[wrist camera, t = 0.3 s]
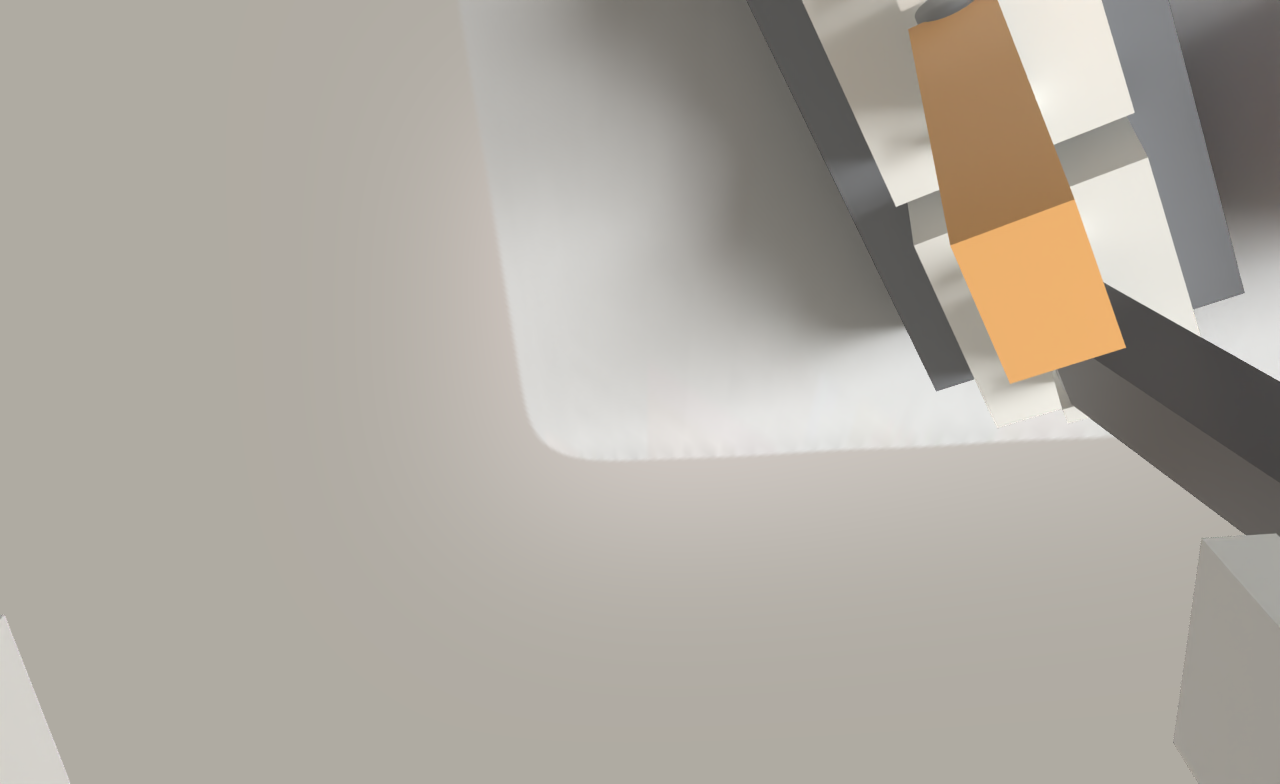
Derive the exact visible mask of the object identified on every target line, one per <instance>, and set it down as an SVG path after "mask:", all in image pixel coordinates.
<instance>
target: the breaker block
mask: <svg viewBox="0 0 1280 784" xmlns="http://www.w3.org/2000/svg"><path fill="white" fill-rule="evenodd" d="M926 1H927V0H747V2H748V4H749V6H750V8H751V11H752V13H753V15H754V17H755V19H756V21H757V23H758V25H759V27H760V29H761V31H762V33H763V35H764V37H765V39H766V41H767V44H768V46H769V48H770V50H771V52H772V54H773V56H774V58H775V60H776V62H777V64H778V66H779V68H780V70H781V72H782V74H783V76H784V79H785V81H786V83H787V85H788V87H789V89H790V91H791V93H792V95H793V97H794V99H795V101H796V103H797V105H798V107H799V109H800V111H801V114H802V116H803V118H804V120H805V122H806V124H807V126H808V128H809V130H810V132H811V134H812V136H813V138H814V140H815V142H816V144H817V146H818V149H819V151H820V153H821V155H822V157H823V159H824V161H825V163H826V165H827V167H828V169H829V171H830V173H831V175H832V177H833V179H834V182H835V184H836V186H837V188H838V190H839V192H840V194H841V196H842V198H843V200H844V202H845V204H846V206H847V208H848V210H849V212H850V214H851V217H852V219H853V221H854V223H855V225H856V227H857V229H858V231H859V233H860V235H861V237H862V239H863V241H864V243H865V245H866V247H867V249H868V252H869V254H870V256H871V258H872V260H873V262H874V264H875V266H876V268H877V270H878V272H879V274H880V276H881V278H882V280H883V282H884V285H885V287H886V289H887V291H888V293H889V295H890V297H891V299H892V301H893V303H894V305H895V307H896V309H897V311H898V313H899V315H900V317H901V320H902V322H903V324H904V326H905V328H906V330H907V332H908V334H909V336H910V338H911V340H912V342H913V344H914V346H915V348H916V350H917V352H918V355H919V357H920V359H921V361H922V363H923V365H924V367H925V369H926V371H927V373H928V375H929V377H930V379H931V381H932V383H933V385H934V387H935V390H936V391H939V390H942V389H945V388H948V387H951V386H955V385H958V384H961V383H964V382H967V381H970V380H973V379H975V381H976V383H977V385H978V388H979V390H980V392H981V394H982V396H983V399H984V401H985V403H986V405H987V407H988V410H989V412H990V414H991V416H992V418H993V421H994V423H995V425H996V427H997V428H1000V427H1003V426H1007V425H1010V424H1013V423H1017V422H1020V421H1023V420H1027V419H1030V418H1033V417H1037V416H1040V415H1044V414H1047V413H1050V412H1054V411H1057V410H1060V409H1062V410H1063V413H1064V415H1065V418H1066V420H1067V422H1068V424H1070V423H1073V422H1077V421H1080V420H1084V419H1087V418H1090V419H1092V420H1093V421H1094V422H1096V423H1097V424H1098V425H1100V426H1101V427H1102V428H1104V429H1105V430H1106V431H1108V432H1109V433H1110V434H1112V435H1113V436H1114V437H1116V438H1117V439H1118V440H1120V441H1121V442H1122V443H1124V444H1125V445H1126V446H1128V447H1129V448H1130V449H1132V450H1133V451H1135V452H1136V453H1138V455H1140V456H1141V457H1142V458H1144V459H1145V460H1146V461H1148V462H1149V463H1150V464H1152V465H1153V466H1154V467H1156V468H1157V469H1159V470H1160V471H1161V472H1162V473H1164V474H1165V475H1166V476H1168V477H1169V478H1170V479H1172V480H1173V481H1174V482H1176V483H1177V484H1179V485H1180V486H1181V487H1182V488H1184V489H1185V490H1186V491H1188V492H1189V493H1190V494H1192V495H1193V496H1194V497H1196V498H1197V499H1198V500H1200V501H1201V502H1202V503H1204V504H1205V505H1206V506H1208V507H1209V508H1210V509H1212V510H1213V511H1215V512H1216V513H1217V514H1218V515H1220V516H1221V517H1222V518H1224V519H1225V520H1227V521H1228V522H1229V523H1230V524H1232V525H1233V526H1235V527H1236V528H1237V529H1238V530H1240V531H1241V532H1243V533H1244V534H1245V535H1258V534H1274V533H1276V534H1277V535H1278V536H1279V537H1280V382H1279V381H1278V380H1276V379H1274V378H1272V377H1271V376H1269V375H1267V374H1265V373H1263V372H1262V371H1260V370H1258V369H1256V368H1255V367H1253V366H1251V365H1249V364H1247V363H1246V362H1244V361H1242V360H1240V359H1239V358H1237V357H1235V356H1233V355H1232V354H1230V353H1228V352H1226V351H1224V350H1223V349H1221V348H1219V347H1217V346H1216V345H1214V344H1212V343H1210V342H1208V341H1207V340H1205V339H1203V338H1201V335H1200V331H1199V328H1198V325H1197V321H1196V318H1195V315H1194V311H1193V309H1196V308H1199V307H1202V306H1205V305H1209V304H1212V303H1215V302H1218V301H1221V300H1224V299H1227V298H1230V297H1234V296H1237V295H1240V294H1243V293H1244V289H1243V285H1242V281H1241V277H1240V273H1239V269H1238V266H1237V262H1236V258H1235V254H1234V250H1233V246H1232V243H1231V239H1230V235H1229V231H1228V227H1227V223H1226V219H1225V216H1224V212H1223V208H1222V204H1221V200H1220V196H1219V193H1218V189H1217V185H1216V181H1215V177H1214V173H1213V169H1212V166H1211V162H1210V158H1209V154H1208V150H1207V146H1206V143H1205V139H1204V135H1203V131H1202V127H1201V123H1200V119H1199V116H1198V112H1197V108H1196V104H1195V100H1194V96H1193V93H1192V89H1191V85H1190V81H1189V77H1188V73H1187V69H1186V66H1185V62H1184V58H1183V54H1182V50H1181V46H1180V43H1179V39H1178V35H1177V31H1176V27H1175V23H1174V19H1173V16H1172V12H1171V8H1170V4H1169V0H998V2H999V5H1000V7H1001V10H1002V13H1003V15H1004V18H1005V20H1006V23H1007V26H1008V28H1009V31H1010V33H1011V36H1012V39H1013V41H1014V44H1015V46H1016V49H1017V51H1018V54H1019V57H1020V59H1021V62H1022V64H1023V67H1024V70H1025V72H1026V75H1027V77H1028V80H1029V83H1030V85H1031V88H1032V90H1033V93H1034V95H1035V98H1036V101H1037V103H1038V106H1039V108H1040V111H1041V114H1042V116H1043V119H1044V121H1045V124H1046V127H1047V129H1048V132H1049V134H1050V137H1051V139H1052V142H1053V145H1054V147H1055V150H1056V152H1057V155H1058V158H1059V160H1060V163H1061V165H1062V168H1063V171H1064V173H1065V176H1066V178H1067V181H1068V183H1069V186H1070V189H1071V191H1072V194H1073V196H1074V199H1075V202H1076V205H1077V208H1078V210H1079V213H1080V216H1081V219H1082V222H1083V225H1084V228H1085V231H1086V234H1087V236H1088V239H1089V242H1090V245H1091V248H1092V251H1093V254H1094V257H1095V259H1096V262H1097V265H1098V268H1099V271H1100V274H1101V277H1102V280H1103V283H1104V285H1105V288H1106V291H1107V294H1108V297H1109V300H1110V303H1111V306H1112V308H1113V311H1114V314H1115V317H1116V320H1117V323H1118V326H1119V329H1120V331H1121V334H1122V337H1123V340H1124V343H1125V346H1126V348H1123V349H1120V350H1117V351H1114V352H1110V353H1107V354H1104V355H1101V356H1098V357H1095V358H1091V359H1088V360H1085V361H1082V362H1079V363H1075V364H1072V365H1069V366H1066V367H1063V368H1059V369H1056V370H1053V371H1050V372H1047V373H1043V374H1040V375H1037V376H1034V377H1031V378H1027V379H1024V380H1021V381H1018V382H1015V383H1011V384H1010V382H1009V380H1008V378H1007V376H1006V373H1005V371H1004V369H1003V366H1002V364H1001V362H1000V359H999V357H998V355H997V352H996V350H995V348H994V346H993V343H992V341H991V339H990V336H989V334H988V332H987V329H986V327H985V325H984V322H983V320H982V318H981V316H980V313H979V311H978V309H977V306H976V304H975V302H974V299H973V297H972V295H971V292H970V290H969V288H968V286H967V283H966V281H965V279H964V276H963V274H962V272H961V269H960V267H959V265H958V262H957V260H956V258H955V256H954V253H953V251H952V249H951V246H950V242H949V237H948V232H947V227H946V222H945V216H944V211H943V206H942V201H941V196H940V191H939V186H938V180H937V175H936V170H935V165H934V160H933V155H932V150H931V145H930V139H929V134H928V129H927V124H926V119H925V114H924V109H923V103H922V98H921V93H920V88H919V83H918V78H917V73H916V67H915V62H914V57H913V52H912V47H911V42H910V37H909V31H908V29H910V28H912V27H914V26H916V25H918V24H917V22H916V19H915V13H916V11H917V10H918V8H919V7H920V6H921V5H922V4H923V3H925V2H926Z"/></svg>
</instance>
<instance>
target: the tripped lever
mask: <svg viewBox="0 0 1280 784" xmlns="http://www.w3.org/2000/svg"><path fill="white" fill-rule="evenodd" d="M915 19H916V22H917V24H918V25H916V26H914V27H912V28H910V29H908V31H909V37H910V42H911V47H912V52H913V57H914V62H915V67H916V73H917V78H918V83H919V88H920V93H921V98H922V103H923V109H924V114H925V119H926V124H927V129H928V134H929V139H930V145H931V150H932V155H933V160H934V165H935V170H936V175H937V180H938V186H939V191H940V196H941V201H942V206H943V211H944V216H945V222H946V227H947V232H948V237H949V242H950V246H951V249H952V251H953V253H954V256H955V258H956V260H957V262H958V265H959V267H960V269H961V272H962V274H963V276H964V279H965V281H966V283H967V286H968V288H969V290H970V292H971V295H972V297H973V299H974V302H975V304H976V306H977V309H978V311H979V313H980V316H981V318H982V320H983V322H984V325H985V327H986V329H987V332H988V334H989V336H990V339H991V341H992V343H993V346H994V348H995V350H996V352H997V355H998V357H999V359H1000V362H1001V364H1002V366H1003V369H1004V371H1005V373H1006V376H1007V378H1008V380H1009V382H1010V384H1011V383H1015V382H1018V381H1021V380H1024V379H1027V378H1031V377H1034V376H1037V375H1040V374H1043V373H1047V372H1050V371H1053V370H1056V369H1059V368H1063V367H1066V366H1069V365H1072V364H1075V363H1079V362H1082V361H1085V360H1088V359H1091V358H1095V357H1098V356H1101V355H1104V354H1107V353H1110V352H1114V351H1117V350H1120V349H1123V348H1126V346H1125V343H1124V340H1123V337H1122V334H1121V331H1120V329H1119V326H1118V323H1117V320H1116V317H1115V314H1114V311H1113V308H1112V306H1111V303H1110V300H1109V297H1108V294H1107V291H1106V288H1105V285H1104V283H1103V280H1102V277H1101V274H1100V271H1099V268H1098V265H1097V262H1096V259H1095V257H1094V254H1093V251H1092V248H1091V245H1090V242H1089V239H1088V236H1087V234H1086V231H1085V228H1084V225H1083V222H1082V219H1081V216H1080V213H1079V210H1078V208H1077V205H1076V202H1075V199H1074V196H1073V194H1072V191H1071V189H1070V186H1069V183H1068V181H1067V178H1066V176H1065V173H1064V171H1063V168H1062V165H1061V163H1060V160H1059V158H1058V155H1057V152H1056V150H1055V147H1054V145H1053V142H1052V139H1051V137H1050V134H1049V132H1048V129H1047V127H1046V124H1045V121H1044V119H1043V116H1042V114H1041V111H1040V108H1039V106H1038V103H1037V101H1036V98H1035V95H1034V93H1033V90H1032V88H1031V85H1030V83H1029V80H1028V77H1027V75H1026V72H1025V70H1024V67H1023V64H1022V62H1021V59H1020V57H1019V54H1018V51H1017V49H1016V46H1015V44H1014V41H1013V39H1012V36H1011V33H1010V31H1009V28H1008V26H1007V23H1006V20H1005V18H1004V15H1003V13H1002V10H1001V7H1000V5H999V2H998V0H927V1H926V2H925V3H923V4H922V5H921V6H920V7H919V8H918V10H917V11H916V13H915Z"/></svg>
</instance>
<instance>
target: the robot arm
mask: <svg viewBox="0 0 1280 784" xmlns="http://www.w3.org/2000/svg"><path fill="white" fill-rule="evenodd" d="M1173 743H1174V745H1175V747H1176V748H1177V750H1178V751H1179V753H1180V754H1181V756H1182V758H1183V759H1184V761H1185V763H1186V764H1187V766H1188V767H1189V769H1190V771H1191V772H1192V774H1193V776H1194V777H1195V779H1196V780H1197V782H1198V784H1280V537H1279V536H1278V535H1277V534H1276V533H1274V534H1258V535H1244V536H1227V537H1213V538H1201V545H1200V552H1199V560H1198V566H1197V574H1196V581H1195V589H1194V596H1193V603H1192V610H1191V617H1190V625H1189V633H1188V640H1187V646H1186V654H1185V661H1184V668H1183V675H1182V683H1181V690H1180V698H1179V705H1178V712H1177V720H1176V727H1175V734H1174V741H1173ZM0 784H70V781H69V779H68V776H67V773H66V771H65V768H64V766H63V763H62V761H61V758H60V755H59V753H58V750H57V748H56V745H55V743H54V740H53V737H52V735H51V732H50V730H49V727H48V725H47V722H46V720H45V717H44V714H43V712H42V710H41V707H40V704H39V702H38V699H37V697H36V694H35V691H34V689H33V686H32V684H31V681H30V679H29V676H28V674H27V671H26V668H25V666H24V663H23V661H22V658H21V656H20V653H19V650H18V648H17V645H16V643H15V640H14V638H13V635H12V633H11V630H10V627H9V625H8V622H7V620H6V617H5V615H0Z"/></svg>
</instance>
